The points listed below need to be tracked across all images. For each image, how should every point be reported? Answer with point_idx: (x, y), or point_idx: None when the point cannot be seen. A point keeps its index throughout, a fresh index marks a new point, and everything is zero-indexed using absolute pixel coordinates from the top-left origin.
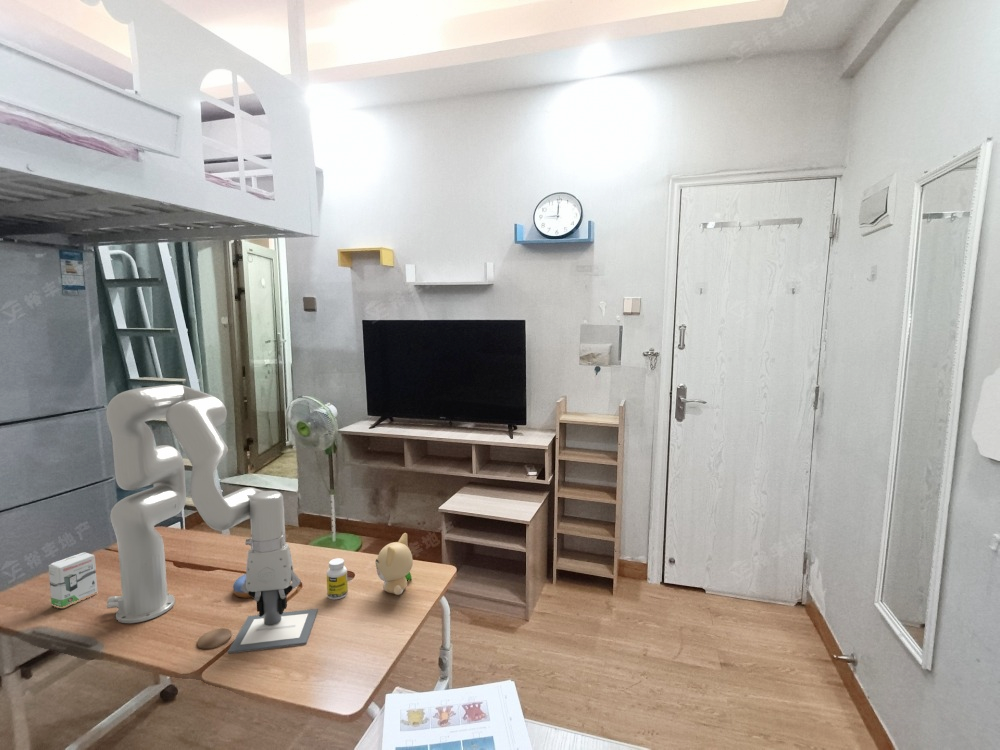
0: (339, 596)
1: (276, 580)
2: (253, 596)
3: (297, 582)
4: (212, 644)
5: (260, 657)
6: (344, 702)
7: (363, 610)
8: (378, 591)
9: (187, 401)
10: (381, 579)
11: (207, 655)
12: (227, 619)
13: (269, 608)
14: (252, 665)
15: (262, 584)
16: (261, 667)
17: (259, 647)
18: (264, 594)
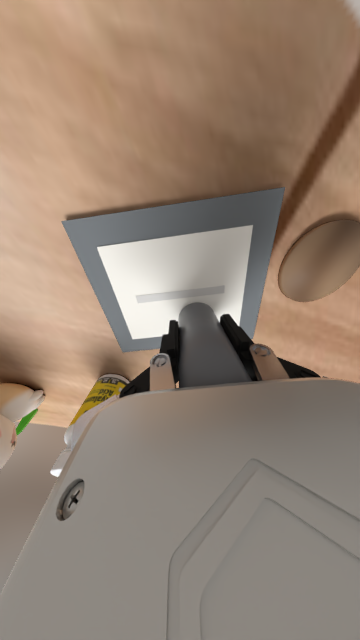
0: (100, 378)
1: (159, 499)
2: (280, 362)
3: (81, 430)
4: (329, 231)
5: (173, 150)
6: None
7: (31, 346)
8: (50, 387)
9: None
10: None
11: (339, 184)
12: (290, 334)
13: (203, 325)
14: (183, 81)
15: (298, 445)
16: (141, 54)
17: (192, 202)
18: (237, 366)
